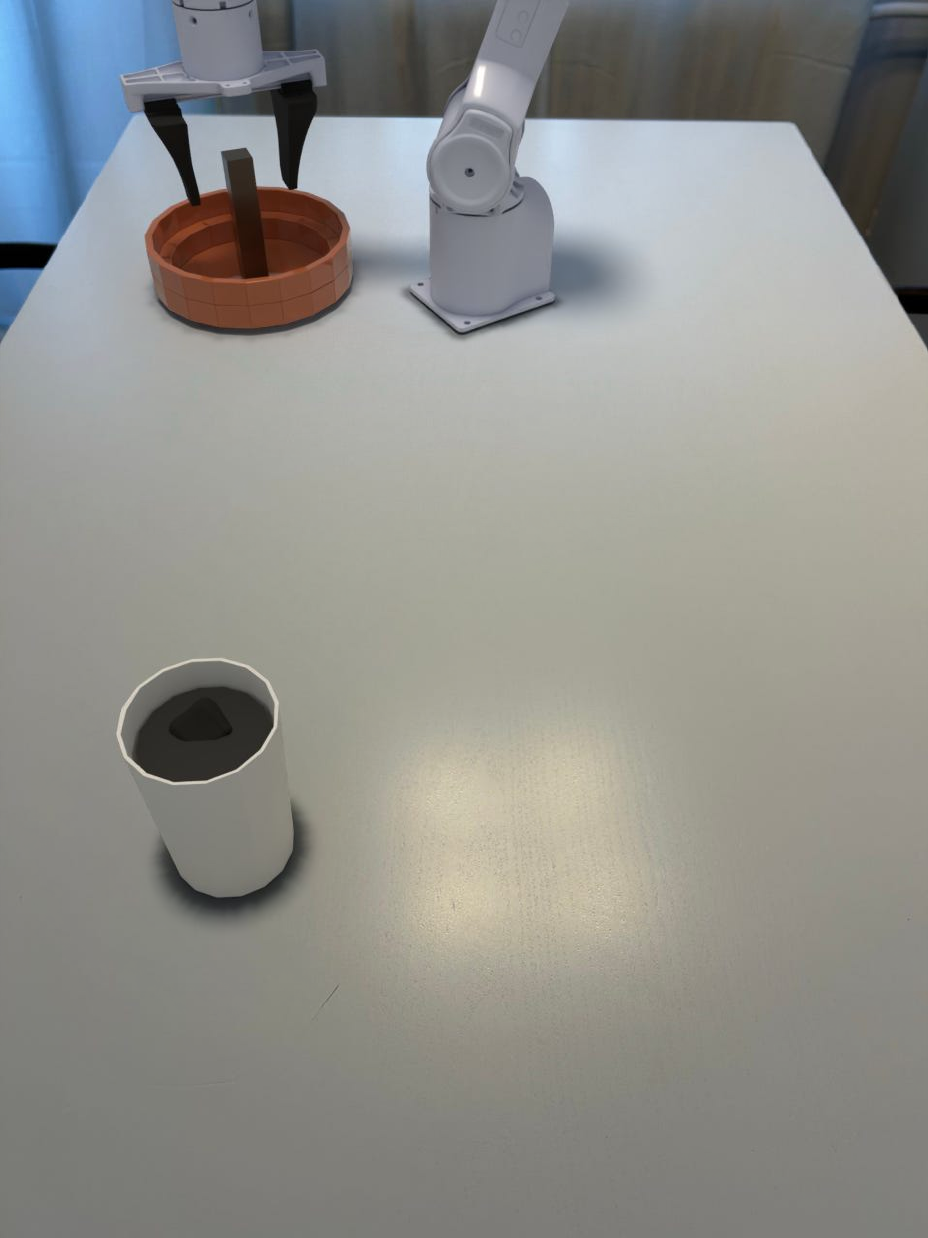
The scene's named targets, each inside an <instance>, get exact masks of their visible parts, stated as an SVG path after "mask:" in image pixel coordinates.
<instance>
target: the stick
mask: <svg viewBox="0 0 928 1238" xmlns="http://www.w3.org/2000/svg"><path fill="white" fill-rule="evenodd" d="M220 155H221V162H222V167H223V168H222V169H223V175H224V180H225V187H226V189H227V194H228V200H229V206H230V213H231V219H232V225H233V232H234V238H235V244H236V251H237V257H238V263H239V270H240V273H241V275H242V277H243V279H251V278H259V277H267V276H269V273H268V266H267V259H266V251H265V244H264V237H263V229H262V222H261V215H260V207H259V200H258V193H257V186H258V185H257V179H256V171H255V164H254V158H253V156H252V154H251V152H250V151H249V150H248V148H247V147H240V148H233V149H227V150H221V151H220Z"/></svg>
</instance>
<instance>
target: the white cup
mask: <svg viewBox="0 0 928 1238" xmlns="http://www.w3.org/2000/svg"><path fill="white" fill-rule="evenodd" d="M134 689H135V690H134V691H133V692H132V694H131V695H130V696H129V698H128V699H127V701H126V702H125V703H124V704H123V705H122V707H121V709H120V714H119V718H118V723H117V728H116V733H115V735H116V738H117V741H118V744H119V747H120V750H121V752H122V757H123V759H124V761H125V763H126V765H127V767H128V769H129V771H130V773H131V776H132V778H133V780H134V782H135V785H136V786H137V788H138V791H139V792H140V794H141V796H142V799H143V801H144V803H145V805H146V808H147V809H148V811H149V813H150V816H151V817H152V820H153V821H154V823H155V826H156V828H157V830H158V832H159V834H160V836H161V838H162V840H163V842H164V845H165V846H166V848H167V851H168V853H169V854H170V857H171V859H172V862H173V863H174V865H175V867H176V869H177V871H178V873H179V875H180V877H181V878H182V879H183V880H184V881H185V882H186V883H187V884H188V885H189V886H190V887H191V888H192V889H194V890H195V891H197V892H199V893H202V894H205V895H208V896H211V897H214V898H234V897H235V898H236V897H244V896H246V895H248V894H251V893H253V892H255V891H258V890H260V889H264V888H265V887H266V886H267V885H269V884H270V883H271V882H272V881H273V880H274V879H275V878H276V877H278V875H280V874H281V873H282V872H283V871H284V869H285V868H286V865H287V863H288V861H289V860H290V857H291V855H292V853H293V851H294V837H295V836H294V835H295V830H294V829H295V828H294V822H293V813H292V803H291V796H290V787H289V779H288V769H287V768H288V767H287V761H286V752H285V746H284V745H285V743H284V735H283V727H282V717H281V709H280V702H279V699H278V697H277V696H276V693H275V691H274V689H273V687H272V684H271V683H270V681H269V680H268V679H267V678H266V677H264V676H263V675H262V674H261V673H260V672H258V671H257V670H256V669H254V668H253V667H252V666H250V665H249V664H246V663H242V662H238V661H234V660H231V659H228V658H224V657H212V658H211V657H210V658H190V659H187V660H185V661H181V662H178V663H176V664H173V665H170V666H166V667H164V668H162V669H160V670H159V671H157V672H156V673H154V674H153V675H152V676H150V677H149V678H147V679H145V680H144V681H143V682H142V683H140V684H138V685H137V686H136V688H134Z"/></svg>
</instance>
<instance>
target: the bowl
mask: <svg viewBox="0 0 928 1238" xmlns="http://www.w3.org/2000/svg"><path fill="white" fill-rule="evenodd" d="M257 193H258V200H259V207H260V215H261V222H262V229H263V237H264V244H265V251H266V259H267V266H268V273H269V276H267V277H259V278H251V279H243V277H242V275H241V273H240V270H239V263H238V257H237V251H236V244H235V238H234V232H233V225H232V219H231V213H230V206H229V200H228V194H227V188H221V189H217V190H214V191H213V190H212V191H209V192H205V193H201V194H200V201H201V205H198V206H191V204H190V202H189V200H188V198H186V199H184V200H181V201H179V202H177V203H174V204H173V205H171V206H169V207H168V208H166V209H165V210H164V211H163V212H161V213H160V214H159V215H157V216H156V217H155V218H154V219H152V220H151V222H150V225H149V226H148V228H147V230H146V232H145V234H144V242H145V250H146V255H147V259H148V264H149V268H150V272H151V277H152V278H151V279H152V281H153V287H154V290H155V294H156V296H157V297H158V299H159V300H160V301H161V302H162V303H163V304H164V306H165V307H166V308H167V310H170V311H171V312H173V313H175V314H177V315H179V316H180V317H183V319H186V320H188V321H191V322H194V323H199V324H203V325H208V326H211V327H216V328H228V329H259V328H265V327H274V326H281V325H282V326H283V325H287V324H289V323H293V322H297V321H300V320H303V319H306V318H309V317H312V316H314V315H316V314H318V313H319V312H321V311H323V310H324V309H326V308H328V307H330V306H332V305H334V304H335V303H337V302H338V300H340V299H341V297H343V295H344V294H345V293H346V291H347V290H348V289H349V288H350V286H351V283H352V278H353V274H354V262H353V247H352V234H351V226H350V224H349V221H348V219H347V216H346V214H345V213H344V212H343V211H342V210H341V209H340V208H339V207H337V206H336V205H335V204H334V203H332V201H330V200H329V199H326V198H323V197H321V196H319V195H316V194H313V193H311V192H308V191H303V190H297V189H294V190H289V189H288V187H282V186H261V185H260V186H259V185H257Z"/></svg>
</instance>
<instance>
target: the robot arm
mask: <svg viewBox="0 0 928 1238" xmlns="http://www.w3.org/2000/svg"><path fill="white" fill-rule="evenodd" d="M570 2H571V0H496V3H495V6H494V8H493V11H492V14H491V17H490V20H489V23H488V26H487V28H486V31H485V34H484V36H483V39H482V42H481V43H480V47H479V49H478V52H477V54H476V57H475V60H474V63H473V66H472V68H471V71H470V73H469V74H468V75H467V78H466V79H465V80H464V81H463V82H462V83H461V84H459V85H458V86H457V87H456V88H455V89H454V90H453V91H452V93H451V94H450V95H449V97H448V98H447V100H446V102H445V106H444V107H443V112H442V113H443V114H442V120H441V123H440V126H439V129H438V132H437V134H436V137H435V139H434V140H433V142H432V144H431V146H430V148H429V150H428V153H427V157H426V162H425V164H426V166H425V167H426V169H425V171H426V176H427V180H428V183H429V184H428V192H429V194H428V203H429V204H428V205H429V206H428V208H429V211H428V212H429V213H428V215H429V217H428V218H429V278H426V279H423V280H419V281H416V282H413V283H411V284H410V285H409V292H410V293H412V294H413V295H414V296H415V297H416V298H418V299H419V300H420V301H421V302H422V303H423V304H425V305H426V306H427V307H428V308H429V309H431V310H432V311H433V312H434V313H435V314H437V315H438V316H439V317H440V318H441V319H442V320H443V321H445V322H446V323H447V324H448V325H449V326H451V327H452V328H453V329H454V330H455V331H456V332H458V333H467V332H468V331H471V330H474V329H478V328H480V327H483V326H486V325H489V324H492V323H494V322H498V321H500V320H503V319H506V318H509V317H512V316H515V315H518V314H521V313H523V312H526V311H527V312H528V311H529V310H532V309H536V308H538V307H540V306H544V305H546V304H550V303H552V302H554V301H555V298H556V295H555V293H554V292H552V291H551V290H550V285H551V274H552V272H551V271H552V261H553V260H552V259H553V246H554V237H555V217H554V211H553V205H552V203H551V199H550V196H549V195H548V193H547V191H546V189H545V188H544V187H543V186H542V184H541V183H540V182H539V181H537V180H536V179H535V178H533V177H531V176H521V175H520V174H519V172H518V169H517V167H516V163H517V158H518V154H519V149H520V145H521V142H522V139H523V138H524V133H525V129H526V116H527V113H528V110H529V105H530V103H531V100H532V98H533V95H534V91H535V89H536V86H537V83H538V80H539V78H540V75H541V73H542V71H543V68H544V66H545V64H546V61H547V59H548V56H549V54H550V51H551V49H552V46H553V44H554V41H555V39H556V37H557V34H558V32H559V30H560V26H561V24H562V22H563V20H564V17H565V15H566V12H567V9H568V7H569V5H570ZM171 6H172V13H173V16H174V22H175V23H174V24H175V29H176V35H177V41H178V46H179V51H180V58H181V59H180V60H177V61H174V62H170V63H167V64H162V65H158V66H155V67H151V68H147V69H144V70H140V71H136V72H130V73H124V74H119V80H120V84H121V90H122V94H123V99H124V103H125V106H126V108H127V110H128V111H129V113H130V114H133V113H142V112H143V113H144V115H145V117H146V119H147V121H148V123H149V125H150V126H151V128H152V130H153V131H154V132H155V134H156V136H157V137H158V138H159V140H160V141H161V143H162V144H163V146H164V147H165V149H166V150H167V152H168V154H169V155H170V157H171V159H172V161H173V163H174V166H175V168H176V170H177V171H178V174H179V177H180V180H181V182H182V186H183V188H184V191H185V195H186V199H188V200H189V202H190V204H191V206H198V205H201V201H200V195H201V194H200V190H199V186H198V182H197V178H196V174H195V170H194V166H193V160H192V159H193V158H192V153H191V152H192V151H191V145H190V138H189V137H190V136H189V126H188V124H187V122H186V119H185V118H184V116H183V112H182V108H181V107H180V105H179V104H178V103H185V102H186V103H187V102H192V101H201V100H206V99H214V98H215V99H216V98H222V97H227V98H233V97H239V96H247V95H250V94H252V93H257V92H265V91H269V93H270V99H271V104H272V109H273V115H274V120H275V125H276V126H275V127H276V133H277V143H278V144H277V145H278V159H279V169H280V174H281V175H280V176H281V180H282V181H283V183H284V185H285V186H286V188H288V189H289V190H297V189H298V186H299V185H298V184H299V172H300V164H301V158H302V155H303V154H302V153H303V150H304V147H305V146H304V145H305V142H306V138H307V135H308V132H309V129H310V128H311V125H312V122H313V120H314V118H315V116H316V113H317V110H318V101H319V100H318V95H317V93H316V92H315V91H314V90H313V88H319V87H324V86H325V87H326V86H327V85H328V82H327V81H328V80H327V71H326V70H327V69H326V59H325V57H324V56H323V55H322V54H321V52H320V51H319V50H318V49H316V48H315V49H307V50H306V49H305V50H263V45H262V35H261V28H260V27H261V26H260V19H259V12H258V3H257V0H171Z"/></svg>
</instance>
